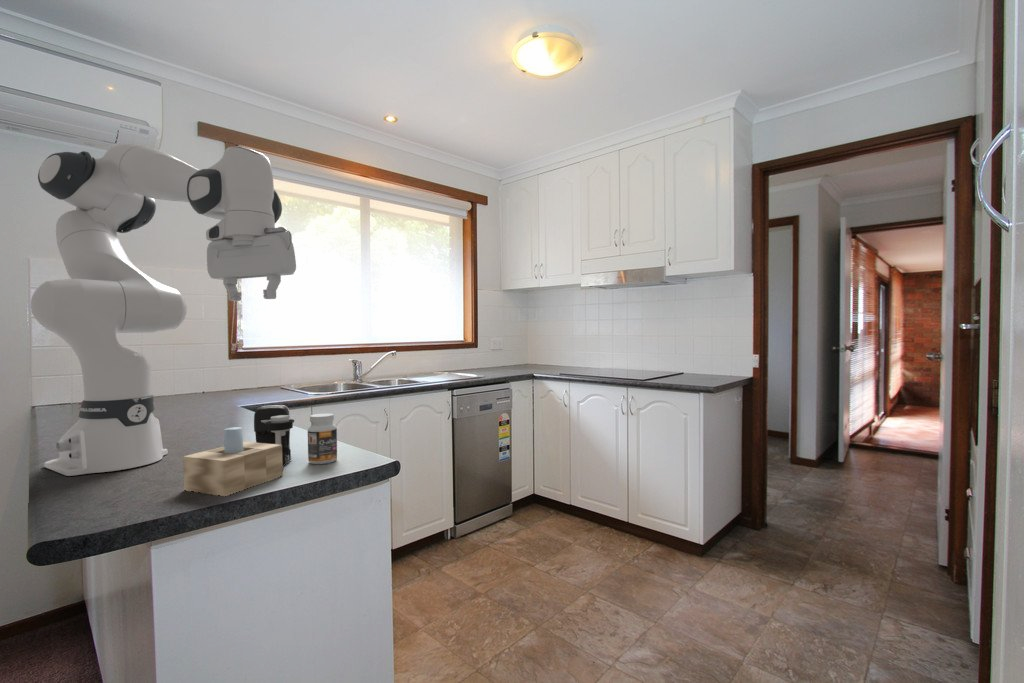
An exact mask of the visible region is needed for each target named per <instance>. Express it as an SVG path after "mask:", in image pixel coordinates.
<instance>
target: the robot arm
mask: <svg viewBox="0 0 1024 683" xmlns="http://www.w3.org/2000/svg"><path fill="white" fill-rule="evenodd" d="M37 180H38V183H39V186H40V188H41V189H42V190H43V191H44V192H46V193H48V194H49V195H51V196H52V197H54V198H55V199H58V200H61V201H62V200H63V201H64V202H66V203H67V204H69V205H72V206H74V207H75V208H76V209H73V210H72V209H71V210H68V211H65V212H64V213H63V214H62V215H60V216H59V218H58V219H57V221H56V224H55V237H56V244H57V247H58V251H59V254H60V257H61V259H62V261H63V265H64V267H65V270H66V272H67V276H68V277H69V279H68V278H67V279H58V280H57V279H55V280H47V281H44V282H43V283H41V284H40V285H39V286H38V287H37V288H36V289H35V291H34V292H33V294H32V296H31V300H30V310H31V313H32V315H33V317H34V319H35V320H36V321H37V322H38V324H39V325H41V326H42V327H43V328H44V329H46V330H48V331H50V332H52V333H53V334H54V335H55V334H56V335H57V336H59V337H60V338H61V339H62V340H63V341H65V342H66V343H67V344H68V345H69V347H71V349H72V350H73V351H74V353H75V355H76V356H77V359H78V361H79V363H80V368H81V374H82V381H83V383H82V384H83V393H84V394H83V395H84V396H83V398H84V399H83V400H82V401H81V402H80V403H78V404H77V405H78V406H79V405H80V406H79V407H78V409H79V410H78V411H79V413H78V418H79V419H78V420H77V421H76V422H75V423H74V424H73V425H72V426H71V427H70V428H69V429H68V430H67V431H66V432H65V433H64V434H63V435H62V436H60V439H59V440H58V441H56V443H55V450H56V451H57V453H58V454H59V456H58V458H54V459H49V460H48V461H45V462H44V463H43V464H44V465H43V467H44V468H46V469H49V470H52V471H53V472H56V473H58V474H61V475H64V476H67V477H71V476H73V477H74V476H79V475H80V476H81V475H86V474H95V473H105V472H107V473H109V472H114V471H115V472H116V471H121V470H127V469H133V468H137V467H142V466H146V465H147V466H148V465H150V464H153V463H156V462H158V461H160V460H162V459H163V457H164V456H165V455H168V448H164V447H163V440H162V431H161V426H160V421H159V419H158V418H157V417H155V416H154V414H153V412H154V411H155V398H154V395H152V380H151V379H152V378H151V377H152V375H151V374H152V373H151V371H152V370H151V363H150V362H149V360H148V358H147V357H146V356H145V355H143V354H141V353H140V352H137V351H134V350H132V349H129V348H127V347H124V346H122V345H121V344H120V343H119V341H118V339H117V334H130V333H131V334H132V333H137V334H139V333H141V334H143V333H144V334H145V333H146V334H147V333H148V334H149V333H151V334H152V333H158V332H163V331H164V332H165V331H169V330H174V329H177V328H178V327H179V326H181V324H182V323H184V322H183V321H184V320H185V318H186V315H187V310H188V308H187V303H186V300H185V298H184V295H182V293H181V292H180V291H179V290H178V289H176V288H175V287H171V286H168V285H166V284H164V283H162V282H159V281H157V280H155V279H154V278H152V277H150V276H149V275H148V274H146V273H144V272H143V271H142V270H141V269H139V268H138V267H137V266H136V265H134V263H132V261H131V259H130V258H129V256H128V255H127V253H126V251H125V249H124V246H123V245H122V242H121V240H120V238H119V236H118V234H117V233H120V234H126V233H129V232H132V231H134V230H137V229H140V228H142V227H144V226H146V225H147V224H148V223H149V222H151V220H153V217H154V216H155V214H156V210H157V205H156V200H162V201H171V202H183V203H189V205H190V206H191V207H192V209H193V210H194V211H195V212H196V213H197V214H199V215H201V216H204V217H207V218H211V219H215V220H220V221H219V222H218V223H216V224H215V225H213V226H211V227H210V228H208V229H207V230H206V232H205V238H206V240H207V241H209V243H208V245H207V247H206V267H207V268H206V269H207V273H208V276H209V278H211V279H213V280H222V281H223V282H222V283H223V285H224V288H225V290H226V292H227V294H228V295H227V298H228V301H230V302H239V301H241V300H242V292H240V291H239V290H238V288H237V286H236V285H238V280H240V279H242V280H243V279H253V278H266V281H268V283H267V286H266V289H263V290H262V291H263V292H262V293H263V299H265V300H276V298H277V290H278V288H279V285H280V284H281V283H282V280H281V279H282V276H291V275H294V274H295V272H296V270H297V263H296V262H297V261H296V260H297V259H296V252H295V248H294V243H293V242H292V241H293V239H292V238H293V236H292V233H291V231H290V230H289V229H287V227H285V226H278V227H275V225H276V223H278V220H279V219H280V218H281V215H282V211H283V206H282V202H281V197H280V195H279V194H278V192H277V191H276V189H275V188H274V175H273V169H272V165H271V161H270V160H269V157H268V156H266V155H265V154H264V153H262V152H259V151H256V150H254V149H251V148H248V147H245V146H244V147H243V146H239V145H238V146H235V145H234V146H229V147H227V148H225V150H224V152H223V155H222V157H221V158H220V159H219V161H217V162H216V163H215V164H213V165H211V166H209V167H208V168H203V169H198V168H196V167H195V166H193V165H190V164H189V163H186V162H184V161H183V160H181V159H179V158H177V157H175V156H174V155H172V154H169V153H167V152H165V151H163V150H160V149H158V148H154V147H152V146H151V147H150V146H147V145H143V144H138V143H136V144H135V143H122V144H121V143H120V144H116V145H113V146H111V147H110V148H109V149H107V150H106V152H105V153H104V155H103V156H102V157H100V158H98V157H97V158H95V157H93V156H92V155H91V153H90V152H88V151H84V150H83V151H80V152H74V151H73V152H72V151H62V152H54V153H52V154H50V155H49V156H47V157H46V159H44V161H43V162H42V163H41V165H40V167H39V170H38V174H37Z"/></svg>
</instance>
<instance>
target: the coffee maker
mask: <svg viewBox="0 0 1024 683" xmlns="http://www.w3.org/2000/svg"><path fill="white" fill-rule="evenodd" d="M290 413H291V412H290V409H289V407H288V406H286V405H283V404H279V405H277V404H275V405H274V404H273V405H263V406H260V407H258V408H257V409H256V410H255V412H254V413H253V414H254V415H253V432H254V433H255V443H266V444H275V442H276V441H275V433H274V432H271V431H270V430H268V425H266V422H268V421H270V420H271V417H272V416H278V415H289V418H290V419H291V414H290ZM285 432H286V441H287V445H289V449H291V442H290V441H291V429H290V430H289V431H285Z"/></svg>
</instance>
